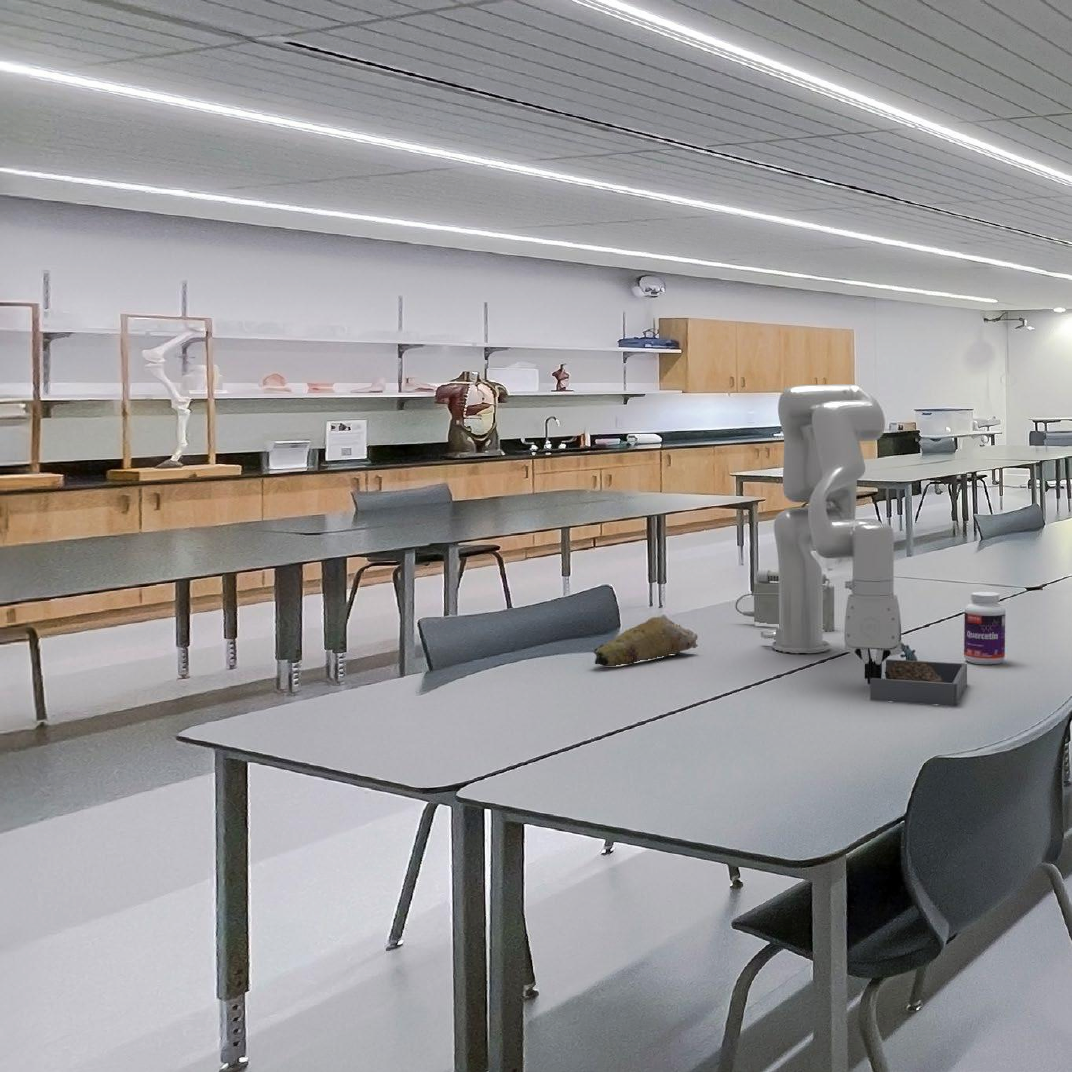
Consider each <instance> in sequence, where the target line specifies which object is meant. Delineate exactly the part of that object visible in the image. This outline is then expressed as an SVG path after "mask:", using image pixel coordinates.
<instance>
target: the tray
mask: <svg viewBox="0 0 1072 1072" xmlns="http://www.w3.org/2000/svg"><path fill="white" fill-rule="evenodd" d="M920 661H921V660H918V661H916V662H920ZM922 661H923V662H924V663H925V664H926V665H928V666H930V667H932V669H933V670H934V671H935V672H936V674H937V675H939V676H940V677H941V679H943V680H944V681H945V683H943V682H927V681H911V680H894V679H886V678H882V679H878V678H870V685H869V686H870V687H869V700H870V701H874V702H875V701H876V702H877V701H878V702H889V701H893V702H892V703H903V702H905V703H906V704H920V705H921V704H922V705H932V704H938V705H937V706H946V705H947V706H946V707H949V706H950V707H955V706H956V707H957V705H958V704H959V702H960V700H961V698H962V697H963V693H964V692H965V689H966V687H967V686H968V663H964V662H963V663H959V662H945V661H944V662H941V661H926V660H922ZM899 662H910V660H906V659H890V658H888V659H887V658H886V659H885V670H886V669H887V668H890V667H892V666H893V665H894V664H895V663H899ZM911 662H915V661H911Z"/></svg>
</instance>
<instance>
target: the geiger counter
mask: <svg viewBox="0 0 1072 1072" xmlns="http://www.w3.org/2000/svg"><path fill="white" fill-rule="evenodd" d="M756 580H757V581H756V582H754V583H753V593H751V592H750V593H746V594H743V595H742V596H739V598H738V599H737V600H736V602H735V607H734V608H735V610H736V611H737V612H738V613H739V614H742V615H743V616H744V617H745V616H746V617H751V618H752V617H753V623H754V622H759V623H767V624H779V571H771V570H768V569H767V570H766V569H759V570H757V573H756ZM826 582H827V583H826ZM830 583H831V580H830V579H829V578H827V575H826V574H823V573H822V588H823V630H826V631H831V632H833V631H832V630H834V631H835V585H830ZM825 584H826V585H825ZM748 596H753V610H754V611H749V610H748V611H743V612H742V610H740V609H739V608H738V604H739V602H740V601H741V600H742V599H743V598H745V597H748Z"/></svg>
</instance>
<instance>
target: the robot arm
mask: <svg viewBox="0 0 1072 1072" xmlns="http://www.w3.org/2000/svg"><path fill="white" fill-rule="evenodd" d="M777 409H778V410H777V413H778V419H779V424H780V426H781V431H782V435H783V463H782V464H783V466H782V468H783V469H782V490H783V494H784V497H785V498H786V499H787V500H788V501H790V502H793V503H805V504H806V503H808V504H809V505H808V506H806V507H792V508H788V509H784V510H781V511H780V512H779V513H778V514H777V515H776V516H775V518H774V521H773V534H774V538H775V544H776V551H777V559H778V561H777V563H778V564H777V565H778V572H779V581H778V583H779V628H774V629H770V628H761V629H760V638H763V639H767V640H768V639H773V641H774V642H772V644H771V645H772V649H773V648H774V649H775V650H774V649H773V650H774V651H776V650H780V651H784V652H783V653H786V652H790V653H789V654H799V653H807V654H818V653H819V654H820V653H824V652H827V651H829V650H830V649H831V644H830V642H828V641H826V640H824V638H823V637H824V635H823V634H824V633H823V632H824V631H823V588H822V585H823V584H822V574H823V570H822V568H821V565H820V563H819V562H818V561H817V560H816V558H815V557H814V555H813V554H812V552H814V551H815V552H816V553H817V554H818V555H819V556H820V557H821V558H824V559H829V560H830V559H849V558H850V559H851V558H852V579H851V580H849V581H845V582H844V588H845V589H848V590H851V594H849V595H848V596H847V602H846V608H845V615H844V631H843V633H844V634H843V636H844V637H843V639H844V651H845V652H847V653H851V654H855V655H856V656H857V657H858V658H859V659H860V660H861V661H862V663H863V664H864V679H865V680H867V685H869V686H870V678H878V679H883V678H882V677H883V672H882V671H883V662H885V661H886V659H887V658H888V657H892V656H897V655H902V653H903V652H902V646H901V642H902V621H901V620H902V618H901V610H900V605H899V598H898V596H897V594H895V593H894V592H895V591H894V590H895V589H894V588H895V585H894V583H895V581H894V580H895V579H894V575H895V574H894V571H895V570H894V569H895V568H894V556H895V554H894V552H895V551H894V550H895V549H894V545H895V544H894V540H895V539H894V529H893V527H892V526H891V525H890V524H887V523H882V522H881V521H880V520H878V519H876V518H856V510H857V508H856V506H857V492H858V489H857V488H858V487H857V486H858V485H857V484H858V482H857V481H858V480H859V479H861V478H862V477H863V475H864V474H865V472H866V465H865V460H864V456H863V452H862V446H861V443H860V442H873V441H878V440H880V438H881V437H882V436H883V435H884V432H885V427H886V422H885V415H884V411H883V409H882V407H881V405H880V404H879V402H878V401H877V400H876V399H875V398H874V397H873V396H872V395H871V394H870V393H868V392H867V391H866V390H865V389H864V388H862V387H861V386H860V385H857V384H851V383H850V384H849V383H837V384H836V383H834V384H802V385H801V384H800V385H794V386H790V387H788V388H785V390H783V391H782V392H781V394H780V397H779V399H778V405H777ZM826 503H830V506H827V505H826ZM871 650H876V653H875V657H874V658H875V659H874V660H873V658H872V652H871ZM780 651H779V652H780Z"/></svg>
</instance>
